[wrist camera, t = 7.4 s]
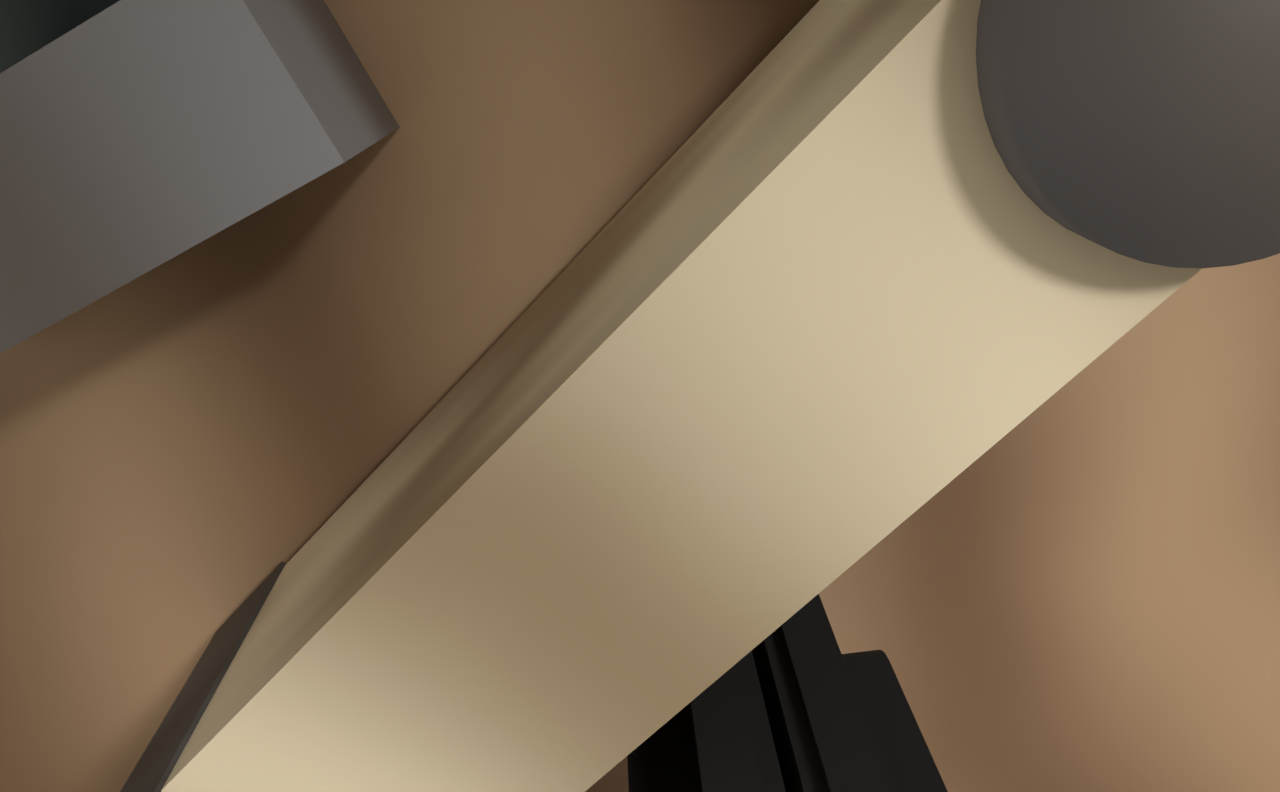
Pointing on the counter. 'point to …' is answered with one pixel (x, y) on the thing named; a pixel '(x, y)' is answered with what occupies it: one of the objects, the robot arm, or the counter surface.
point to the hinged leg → (745, 389)
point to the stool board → (477, 318)
